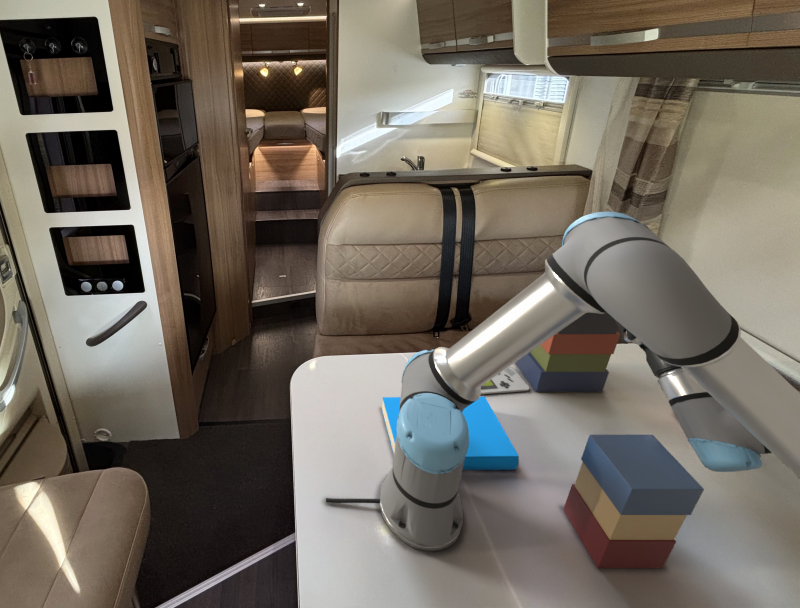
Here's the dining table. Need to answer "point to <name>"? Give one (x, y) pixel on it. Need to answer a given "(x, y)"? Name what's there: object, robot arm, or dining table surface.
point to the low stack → (630, 501)
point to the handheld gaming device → (505, 383)
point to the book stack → (573, 356)
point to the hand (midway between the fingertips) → (619, 266)
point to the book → (485, 436)
